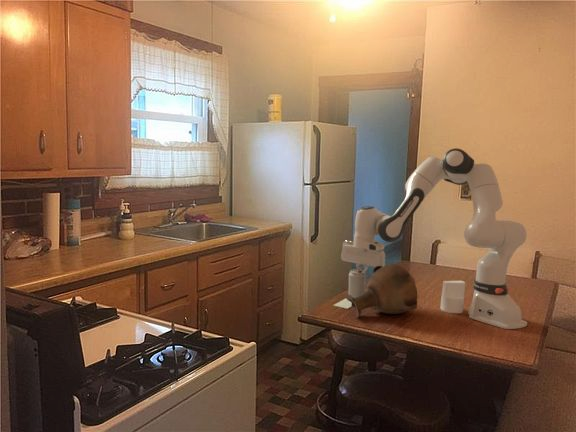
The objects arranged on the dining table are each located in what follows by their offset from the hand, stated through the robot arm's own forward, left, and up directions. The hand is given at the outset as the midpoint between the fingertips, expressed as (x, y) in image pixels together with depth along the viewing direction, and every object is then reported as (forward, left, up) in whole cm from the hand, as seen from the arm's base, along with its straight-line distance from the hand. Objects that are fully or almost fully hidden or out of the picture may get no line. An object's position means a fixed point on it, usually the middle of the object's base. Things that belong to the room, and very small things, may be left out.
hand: (361, 273), depth 222 cm
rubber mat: (-9, +13, -10) cm, 19 cm away
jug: (-23, +7, -10) cm, 26 cm away
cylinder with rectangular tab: (-30, -25, -10) cm, 40 cm away
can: (-2, +3, -10) cm, 10 cm away
